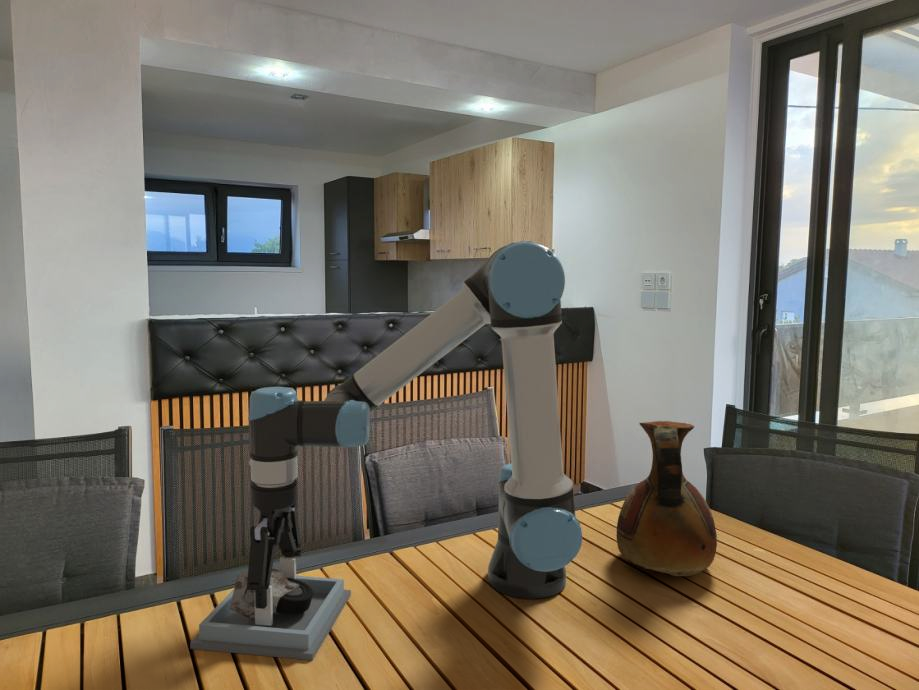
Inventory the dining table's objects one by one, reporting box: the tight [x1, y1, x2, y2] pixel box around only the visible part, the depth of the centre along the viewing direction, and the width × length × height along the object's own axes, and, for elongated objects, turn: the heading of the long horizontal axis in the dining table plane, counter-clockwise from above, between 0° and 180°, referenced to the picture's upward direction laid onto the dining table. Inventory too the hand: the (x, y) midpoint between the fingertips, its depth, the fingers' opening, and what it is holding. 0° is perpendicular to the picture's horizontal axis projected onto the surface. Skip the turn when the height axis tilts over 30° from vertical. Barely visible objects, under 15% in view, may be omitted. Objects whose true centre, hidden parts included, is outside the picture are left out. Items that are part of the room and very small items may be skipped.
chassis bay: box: [189, 575, 352, 661], centre depth 109 cm, size 20×20×4 cm
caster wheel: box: [230, 568, 313, 621], centre depth 109 cm, size 7×11×10 cm
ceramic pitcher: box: [616, 420, 718, 577], centre depth 131 cm, size 20×20×30 cm
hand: (276, 607), depth 109 cm, fingers closed on caster wheel, 9 cm apart
